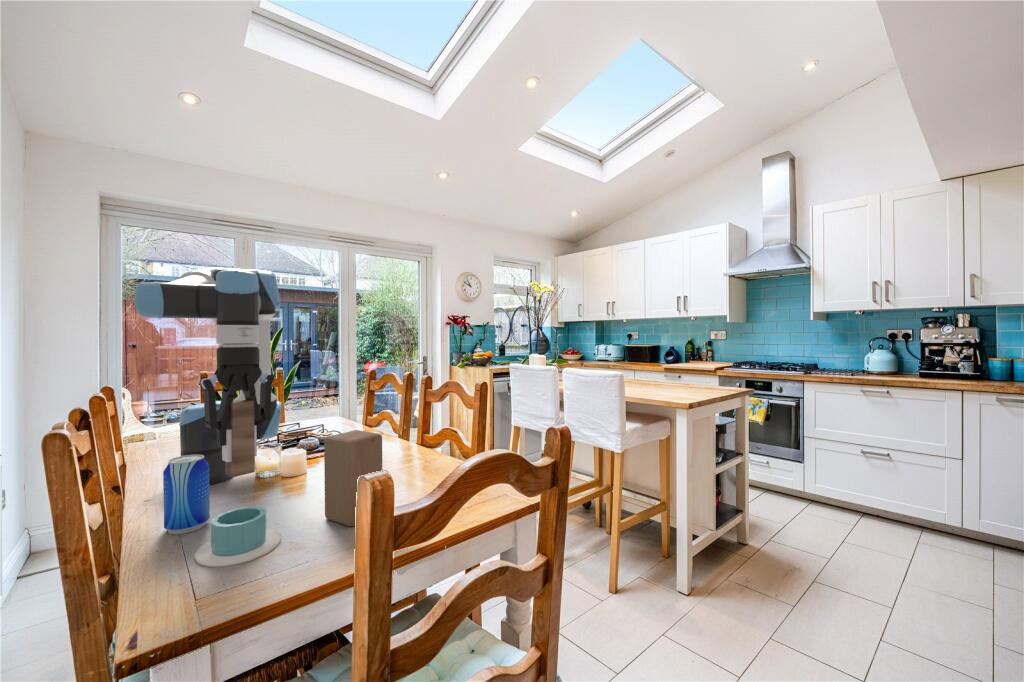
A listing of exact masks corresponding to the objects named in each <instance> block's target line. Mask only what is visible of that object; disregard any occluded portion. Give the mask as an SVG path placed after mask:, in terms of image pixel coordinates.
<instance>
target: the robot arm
mask: <svg viewBox="0 0 1024 682" xmlns="http://www.w3.org/2000/svg"><path fill="white" fill-rule="evenodd" d="M134 307H135V311H136V312H137V314H138V315H139V316H140V317H142V318H152V319H154V318H155V319H157V320H158V319H159V320H160V319H209V320H210V319H211V320H214V319H216V322H215V323H216V325H215V326H216V328H215V329H216V332H215V333H216V334H215V336H216V338H215V339H216V341H215V342H216V345H219V347H217V349H216V370H215V372H214V373H213V375H212V376H209V377H207V378H200V379H199V385H200V387H201V388H202V390H203V403H198V404H193V405H190V406H187V407H185V408H184V409H182V411H181V412H180V415H179V416H180V417H179V418H180V419H179V423H178V425H179V434H180V435H179V438H180V439H179V442H180V443H179V444H180V447H179V448H180V449H179V450H180V456H185V455H204V459H205V460H206V461H207V463H208V464H209V486H210V485H213V484H217V483H218V484H219V483H221V482H224V481H227V480H229V479H231V478H233V477H232V476H230V475H227V474H225V461H226V462H231V461H232V430H231V429H228V428H227V426H228V422H229V417H230V412H231V403H233V400H242V399H245V400H250V401H254V445H255V457H257V455H258V453H257V452H258V450H257V449H258V448H257V445H258V444H257V443H258V442H257V441H259V440H260V441H263V440H266V439H273V438H275V437H276V436H277V435H278V433H279V429H280V421H281V414H282V402H281V401H278V400H277V399H278V398H277V395H275V394H274V393H273V392H272V385H273V382H274V379H275V375H273V374H272V361H271V357H272V356H271V355H272V354H271V353H272V352H271V350H272V349H271V348H272V347H271V345H272V344H271V319H272V318H273V317H274V316H275V315H276V314H277V313H276V311H277V310H278V309H280V308H281V307H282V306H281V299H280V294H279V287H278V282H277V276H276V275H275V273H274V272H273V271H270V270H269V271H268V270H261V269H249V268H248V269H246V268H243V269H242V268H229V267H228V268H225V267H208V268H201V269H196V270H191V271H188V272H184V273H183V274H181V275H180V276H179V277H178V279H175V280H171V281H168V282H159V281H153V282H152V281H151V282H150V281H147V282H146V281H141V282H139V283H138V284H137V285H136V288H135V290H134ZM217 382H218V383H219V385H221V386H222V390H221V399H220V400H217V397H216V396H217V395H216V389H215V387H216V386H217ZM236 392H239V395H237V397H236V398H235V396H236Z"/></svg>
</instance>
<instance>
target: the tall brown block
mask: <svg viewBox="0 0 1024 682" xmlns="http://www.w3.org/2000/svg"><path fill="white" fill-rule="evenodd" d="M227 428H228V429H231V430H232V461H231V462H226V461H225V474H227V475H230V476H232V477H231V478H236V477H241V476H244V475H248V474H253V473H255V472H256V466H255V465H256V464H255V462H256V460H255V457H256V456H255V445H254V401H250V400H245V399H242V400H235V399H233V403H231V412H230V417H229V422H228V426H227Z"/></svg>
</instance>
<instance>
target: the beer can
mask: <svg viewBox="0 0 1024 682" xmlns="http://www.w3.org/2000/svg"><path fill="white" fill-rule="evenodd" d="M162 474H163V475H162V477H163V479H162V480H163V481H162V483H163V489H162V491H163V528H164V529H165V530H166V531H167V532H168V534H171V535H182V534H183V535H184V534H188V533H192V532H195V531H197V530H198V531H199V530H201V529H202V528H204V527H206V525H207V523H208V522H209V520H210V519H211V518H210V517H211V514H210V513H211V508H210V507H211V506H210V502H211V501H210V496H211V495H210V491H211V490H210V485H209V464H208V463H207V461H206V460H205V459H204V455H185V456H181V455H180V456H176V457H173V458H170V459H169V460H168V462H167V465H166V467H165V468H164V469H163V472H162Z"/></svg>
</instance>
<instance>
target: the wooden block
mask: <svg viewBox="0 0 1024 682" xmlns="http://www.w3.org/2000/svg"><path fill="white" fill-rule="evenodd" d="M323 444H324V445H323V447H324V448H323V449H324V451H323V452H324V453H323V454H324V457H323V458H324V460H323V461H324V464H323V465H324V516H325V518H326V520H328V521H332V522H335V523H338V524H341V525H344V526H346V527H348V528H349V527H350V526H352V527H354V526H356V525H355V507H356V492H357V479H358V477H359V476H361V475H365V474H368V473H372V472H376V471H381V470H382V471H383V436H382V434H381V433H377V432H370V431H365V430H358V429H353V430H350V431H347V432H342V433H338V434H333V435H329V436H327V437H325V438H324V443H323Z"/></svg>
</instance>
